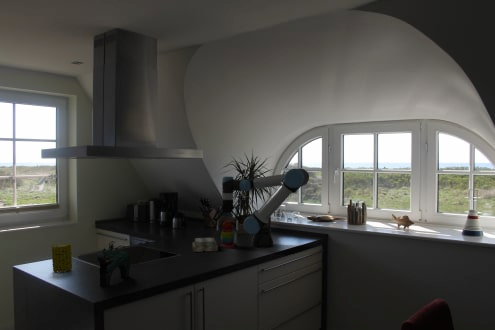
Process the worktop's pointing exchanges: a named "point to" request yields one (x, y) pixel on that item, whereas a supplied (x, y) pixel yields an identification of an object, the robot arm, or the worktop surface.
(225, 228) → the stacking bear
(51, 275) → the worktop surface
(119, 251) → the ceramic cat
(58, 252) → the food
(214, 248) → the plinth
